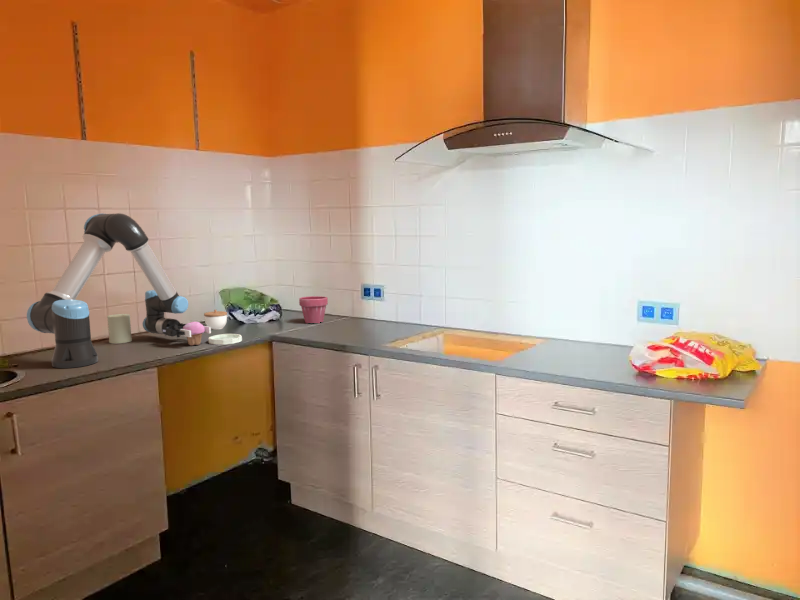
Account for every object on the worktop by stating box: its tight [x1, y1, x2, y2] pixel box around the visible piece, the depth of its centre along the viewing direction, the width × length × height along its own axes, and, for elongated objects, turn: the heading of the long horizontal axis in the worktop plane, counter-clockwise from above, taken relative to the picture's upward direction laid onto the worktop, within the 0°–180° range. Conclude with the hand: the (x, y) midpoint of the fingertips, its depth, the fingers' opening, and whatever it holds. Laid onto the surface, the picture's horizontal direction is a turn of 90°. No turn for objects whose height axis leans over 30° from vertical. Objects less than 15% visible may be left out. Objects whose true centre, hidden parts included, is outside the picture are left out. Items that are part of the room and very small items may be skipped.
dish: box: [208, 333, 243, 346], centre depth 260 cm, size 14×14×2 cm
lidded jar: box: [203, 309, 228, 331], centre depth 292 cm, size 11×11×9 cm
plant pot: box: [298, 295, 329, 324], centre depth 305 cm, size 14×14×13 cm
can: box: [106, 313, 133, 345], centre depth 263 cm, size 9×9×12 cm
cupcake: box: [183, 321, 205, 347], centre depth 253 cm, size 9×9×10 cm
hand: (200, 332), depth 250 cm, fingers closed on cupcake, 9 cm apart
